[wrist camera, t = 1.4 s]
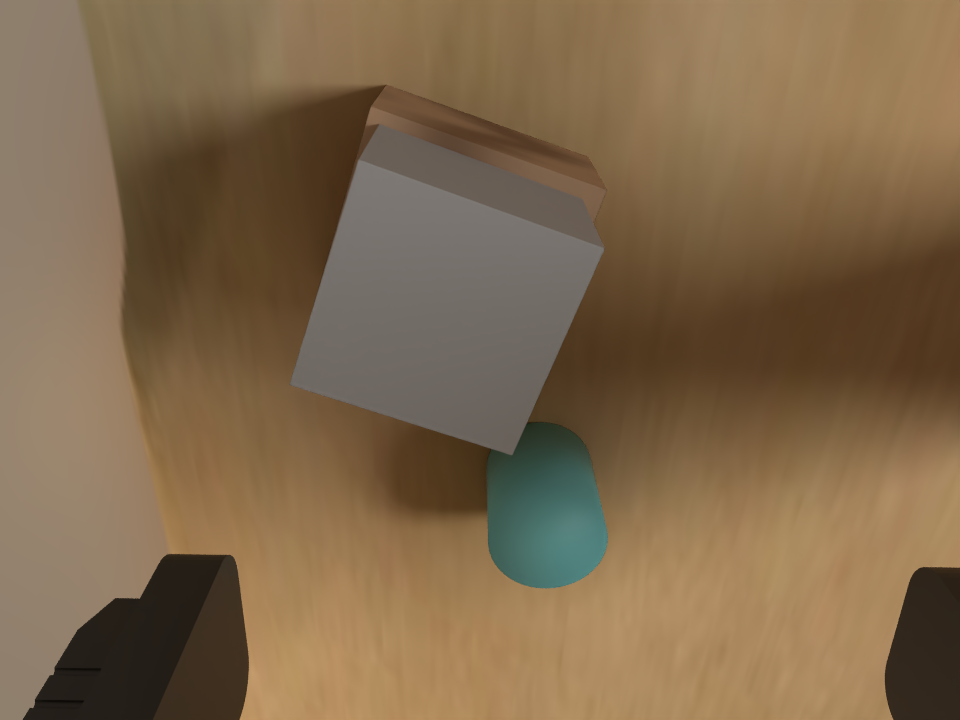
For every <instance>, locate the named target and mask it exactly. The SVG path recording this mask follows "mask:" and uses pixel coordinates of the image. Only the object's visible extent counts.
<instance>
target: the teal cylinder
mask: <svg viewBox="0 0 960 720" xmlns="http://www.w3.org/2000/svg"><path fill="white" fill-rule="evenodd" d="M487 510H488V546H489V551H490V554H491V557H492V559H493V561H494V563H495V565H496V566H497V567H498V568H499V570H500V571H502V572H503V573H504V574H505V575H506V576H507V577H509V578H510V579H512V580H514V581H516V582H518V583H520V584H523V585H526V586H530V587H535V588H556V587H562V586H565V585H569V584H571V583H574V582H576V581H578V580H580V579H582V578H583V577H585V576H587V575H588V574H589V573H590V572H591V571H593V570H594V568H595V567H596V566H597V565H598V564H599V562H600V561H601V559H602V557H603V556H604V553H605V550H606V547H607V542H608V534H607V528H606V524H605V519H604V515H603V511H602V506H601V502H600V498H599V493H598V489H597V485H596V480H595V476H594V472H593V467H592V463H591V459H590V455H589V452H588V450H587V448H586V446H585V444H584V443H583V441H582V440H581V439H580V438H579V437H578V436H577V435H576V434H575V433H573V432H572V431H570V430H569V429H567V428H565V427H562V426H560V425H556V424H552V423H544V422H537V423H529V424H526V426H525V428H524V430H523V432H522V435H521V437H520V439H519V441H518V444H517V446H516V448H515V450H514V453H513V455H509V454H506V453H503V452H500V451H497V450H493V449H491V451H490V454H489V456H488V460H487Z"/></svg>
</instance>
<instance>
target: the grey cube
mask: <svg viewBox="0 0 960 720" xmlns="http://www.w3.org/2000/svg"><path fill="white" fill-rule="evenodd" d="M604 249H605V248H604V246H603V243H602V241H601V239H600V237H599V235H598V232H597V230H596V228H595V226H594V224H593V221H592V219H591V217H590V215H589V213H588V210H587V208H586V206H585V204H584V202H583V199H581V198H579V197H576V196H573V195H570V194H568V193H565V192H562V191H560V190H557V189H554V188H552V187H549V186H546V185H543V184H541V183H538V182H535V181H533V180H530V179H527V178H524V177H522V176H519V175H516V174H514V173H511V172H508V171H506V170H503V169H500V168H497V167H495V166H492V165H489V164H487V163H484V162H481V161H478V160H476V159H473V158H470V157H468V156H465V155H462V154H459V153H457V152H454V151H451V150H449V149H446V148H443V147H441V146H438V145H435V144H432V143H430V142H427V141H424V140H422V139H419V138H416V137H413V136H411V135H408V134H405V133H403V132H400V131H397V130H395V129H392V128H389V127H386V126H384V125H381V124H379V126H378V127H377V129H376V131H375V133H374V134H373V136H372V138H371V139H370V141H369V143H368V144H367V146H366V148H365V150H364V151H363V153H362V155H361V156H360V158H359V160H358V163H357V167H356V170H355V173H354V176H353V180H352V183H351V186H350V189H349V193H348V196H347V199H346V202H345V206H344V209H343V212H342V215H341V219H340V222H339V225H338V228H337V232H336V235H335V238H334V241H333V245H332V248H331V251H330V254H329V258H328V261H327V264H326V267H325V271H324V274H323V277H322V280H321V284H320V287H319V290H318V294H317V297H316V300H315V303H314V307H313V310H312V313H311V316H310V320H309V323H308V326H307V329H306V333H305V336H304V339H303V342H302V346H301V349H300V352H299V355H298V359H297V362H296V365H295V368H294V372H293V375H292V378H291V381H290V385H291V386H294V387H297V388H300V389H304V390H307V391H310V392H313V393H316V394H319V395H323V396H326V397H329V398H332V399H335V400H338V401H342V402H345V403H348V404H351V405H354V406H357V407H361V408H364V409H367V410H370V411H373V412H376V413H380V414H383V415H386V416H389V417H392V418H395V419H399V420H402V421H405V422H408V423H411V424H414V425H418V426H421V427H424V428H427V429H430V430H433V431H437V432H440V433H443V434H446V435H449V436H452V437H455V438H459V439H462V440H465V441H468V442H471V443H474V444H478V445H481V446H484V447H487V448H490V449H493V450H497V451H500V452H503V453H506V454H509V455H513V453H514V450H515V448H516V446H517V444H518V441H519V439H520V437H521V435H522V432H523V430H524V428H525V426H526V423H527V421H528V419H529V417H530V415H531V412H532V410H533V408H534V406H535V403H536V401H537V399H538V397H539V394H540V392H541V390H542V388H543V385H544V383H545V381H546V379H547V377H548V374H549V372H550V370H551V368H552V365H553V363H554V361H555V359H556V356H557V354H558V352H559V350H560V347H561V345H562V343H563V341H564V338H565V336H566V334H567V332H568V330H569V327H570V325H571V323H572V321H573V318H574V316H575V314H576V312H577V309H578V307H579V305H580V303H581V300H582V298H583V296H584V294H585V292H586V289H587V287H588V285H589V283H590V280H591V278H592V276H593V274H594V271H595V269H596V267H597V265H598V262H599V260H600V258H601V256H602V253H603V251H604Z"/></svg>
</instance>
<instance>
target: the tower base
mask: <svg viewBox="0 0 960 720" xmlns="http://www.w3.org/2000/svg"><path fill="white" fill-rule="evenodd" d="M379 124H381V125H384V126H386V127H389V128H392V129H395V130H397V131H400V132H403V133H405V134H408V135H411V136H413V137H416V138H419V139H422V140H424V141H427V142H430V143H432V144H435V145H438V146H441V147H443V148H446V149H449V150H451V151H454V152H457V153H459V154H462V155H465V156H468V157H470V158H473V159H476V160H478V161H481V162H484V163H487V164H489V165H492V166H495V167H497V168H500V169H503V170H506V171H508V172H511V173H514V174H516V175H519V176H522V177H524V178H527V179H530V180H533V181H535V182H538V183H541V184H543V185H546V186H549V187H552V188H554V189H557V190H560V191H562V192H565V193H568V194H570V195H573V196H576V197H579V198H581V199H583V202H584V204H585V206H586V208H587V210H588V213H589V215H590V217H591V219H592V221H593V223H594V221H595V218H596V216H597V214H598V211H599V209H600V206H601V204H602V202H603V199H604V197H605V194H606V192H607V189H606V187H605V185H604V184H603V182H602V180H601V178H600V177H599V175H598V173H597V172H596V170H595V168H594V166H593V165H592V163H591V161H590V159H589V158H588V157H587V156H584V155H581V154H578V153H575V152H573V151H570V150H567V149H564V148H561V147H559V146H556V145H553V144H550V143H548V142H545V141H542V140H539V139H536V138H534V137H531V136H528V135H525V134H522V133H520V132H517V131H514V130H511V129H508V128H506V127H503V126H500V125H497V124H495V123H492V122H489V121H486V120H483V119H481V118H478V117H475V116H472V115H469V114H467V113H464V112H461V111H458V110H455V109H453V108H450V107H447V106H444V105H442V104H439V103H436V102H433V101H430V100H428V99H425V98H422V97H419V96H416V95H414V94H411V93H408V92H405V91H403V90H400V89H397V88H394V87H391V86H389V85H386V86H385V88H384V89H383V90H382V92H381V93H380V95H379V96H378V97H377V99H376V100H375V101H374V103H373V104H372V106H371V108H370V111H369V115H368V118H367V122H366V125H365V129H364V132H363V135H362V139H361V142H360V146H359V149H358V153H357V156H356V160H355V163H354V167H353V170H352V174H351V177H350V181H349V184H348V188H347V191H346V195H345V198H344V202H343V205H342V209H341V212H340V216H339V219H338V222H337V226H336V229H335V233H334V236H333V240H332V243H331V247H330V250H329V254H330V251H331V248H332V245H333V241H334V238H335V235H336V232H337V228H338V225H339V222H340V219H341V215H342V212H343V209H344V206H345V202H346V199H347V196H348V193H349V189H350V186H351V183H352V180H353V176H354V173H355V170H356V167H357V163H358V160H359V158H360V156H361V155H362V153H363V151H364V150H365V148H366V146H367V144H368V143H369V141H370V139H371V138H372V136H373V134H374V133H375V131H376V129H377V127H378V126H379ZM329 254H328V257H327V261H328V258H329ZM327 261H326V264H327ZM326 264H325V267H326ZM324 271H325V268H324ZM324 271H323V274H324ZM322 277H323V275H322ZM321 280H322V278H321ZM320 284H321V282H320ZM319 287H320V285H319ZM318 290H319V289H318ZM317 294H318V292H317ZM316 297H317V296H316ZM315 300H316V299H315ZM313 307H314V306H313ZM312 310H313V309H312Z"/></svg>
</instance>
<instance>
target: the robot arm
mask: <svg viewBox="0 0 960 720" xmlns="http://www.w3.org/2000/svg"><path fill="white" fill-rule="evenodd" d="M248 672H249V656H248V647H247V639H246V632H245V624H244V616H243V608H242V601H241V593H240V585H239V578H238V570H237V565H236V562H235V559H234V558H233V556H231V555H193V554H168V555H166V556H165V557H163V558H162V560H161V561H160V563H159V564H158V566H157V569H156V570H155V572H154V574H153V575H152V578H151V579H150V581H149V583H148V585H147V587H146V589H145V590H144V592H143V594H142V596H141V598H140V599H129V598H115V599H114V600H113V601H112V602H110V603H109V604H108V605H107V606H106V607H104V608H103V609H102V610H101V611H100V612H99V613H97V614H96V615H95V616H94V617H93V618H91V619H90V620H89V621H88V622H87V623H85V624H84V625H83V626H82V627H81V628H80V629H78V630H77V632H76V634H75V635H74V637H73V638H72V640H71V642H70V643H69V645H68V647H67V649H66V650H65V651H64V653H63V655H62V656H61V658H60V660H59V661H58V663H57V665H56V666H55V672H54V675H50V676H49V678H48V679H47V681H46V683H45V684H44V686H43V687H42V689H41V691H40V692H39V694H38V696H37V697H36V699H35V705H34V708H30V709H29V710H28V712H27V713H26V715H25V717H24V718H23V720H239V719H240V716H241V713H242V710H243V706H244V702H245V697H246V691H247V684H248ZM885 690H886V697H887V701H888V705H889V709H890V712H891V715H892V717H893V720H960V568H943V567H922V568H919V569H918V570H916V571H915V572H914V574H913V575H912V577H911V579H910V582H909V585H908V589H907V592H906V596H905V599H904V603H903V606H902V610H901V614H900V617H899V621H898V624H897V628H896V631H895V635H894V639H893V642H892V646H891V649H890V653H889V656H888V660H887V664H886V670H885Z"/></svg>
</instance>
